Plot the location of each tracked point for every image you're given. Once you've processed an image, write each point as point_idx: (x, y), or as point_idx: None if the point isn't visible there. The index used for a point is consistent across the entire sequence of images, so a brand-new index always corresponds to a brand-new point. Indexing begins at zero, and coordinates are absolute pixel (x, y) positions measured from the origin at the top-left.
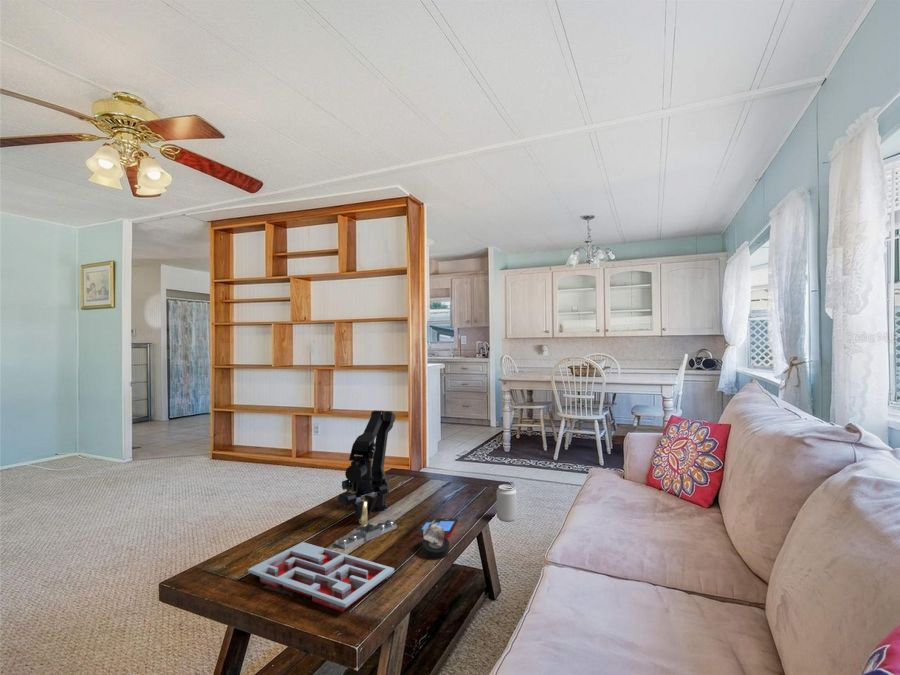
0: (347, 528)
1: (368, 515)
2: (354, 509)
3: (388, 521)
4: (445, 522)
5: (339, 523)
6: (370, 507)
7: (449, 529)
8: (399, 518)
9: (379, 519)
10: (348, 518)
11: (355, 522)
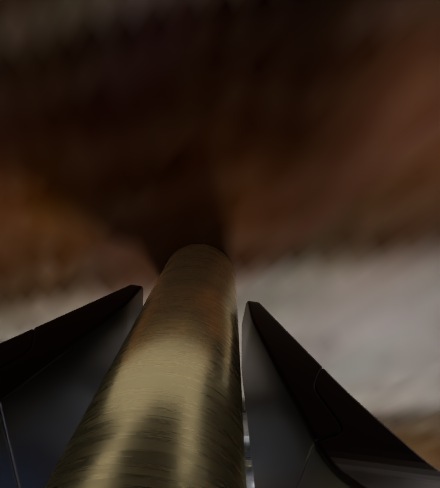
0: (41, 246)
1: (243, 335)
2: (21, 336)
3: (247, 484)
4: None
5: (46, 84)
6: (252, 450)
7: None
8: (411, 418)
9: (333, 328)
10: (203, 53)
11: (171, 209)
